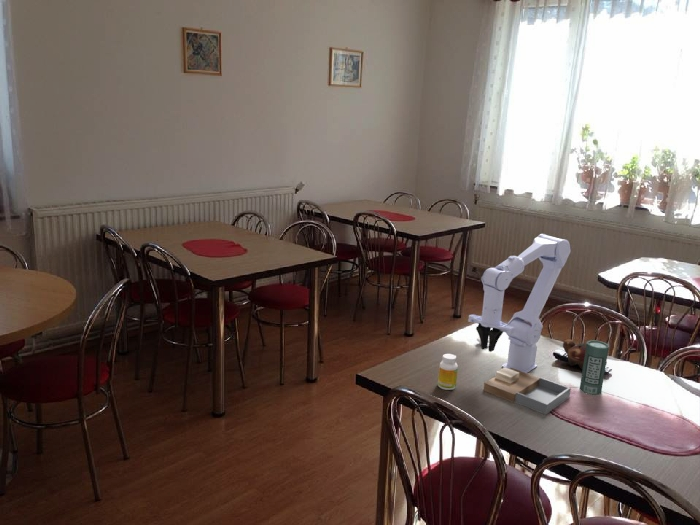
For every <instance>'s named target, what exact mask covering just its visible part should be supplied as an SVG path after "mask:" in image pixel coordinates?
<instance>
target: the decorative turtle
mask: <svg viewBox="0 0 700 525" xmlns="http://www.w3.org/2000/svg"><path fill="white" fill-rule="evenodd" d="M586 345H587V343H586V342H585V343H584V342H581V343H578V344H576V342H575V341H574V340H572V339H565V340H564V341H563V343H562V347H563V350H564V352H565V353H566V354H567V359H568V360H567V361H568V364H569V365H570V366H571V367H574V366H576V365H578V366H579V369H580V370H583V364H584V358H585V352H586ZM607 363H608V362H607V361H606V365H607Z"/></svg>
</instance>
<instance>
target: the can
mask: <svg viewBox="0 0 700 525" xmlns="http://www.w3.org/2000/svg"><path fill="white" fill-rule="evenodd" d="M586 344H587V345H586V352H585V358H584V364H583V370H582V369H581V370H582V372H581V379H580V382H579V383H580V385H579V390H580V392H581V393H583V392H584V393H583V394H586V393H587V395H590V396H598V395H599V396H600V395H601V394H602V390H603V383H604V379H605V373H606V372H605V371H606V367H607V364H606V361H607V360H608V359H607V358H608V355H609V350H610V349H609V348H610V344H608V343H607V342H603V341H600V340H594V339H593V340H587V341H586Z"/></svg>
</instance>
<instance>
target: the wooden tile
mask: <svg viewBox="0 0 700 525" xmlns="http://www.w3.org/2000/svg"><path fill="white" fill-rule="evenodd" d="M495 377H496V378H497V379H500V380H502V381H505V382H508V383H512V382H514V381H515V380H517V379H519V372H517V371H514V370H511V369H508V368H505V367H502V368H501V369H499V370H497V371H495Z"/></svg>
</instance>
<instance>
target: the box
mask: <svg viewBox="0 0 700 525" xmlns="http://www.w3.org/2000/svg"><path fill="white" fill-rule="evenodd" d="M571 390H572V388H571V387H569V386H567V385H564V384H561V383H559V382H555V381H552V380H549V379H547V378H544V377H542V376H540V377H539V385H538V386H537V387H535V388H534V389H532V390H531V391H529V392H528V393H526V394H525V395H523V394H521V393H518V392H516V395H515V402H514V403H516V404H519V405H521V406H524V407H525V408H529V409H531V410H533V411H535V412H538V413H541V414H544V415H548V414H549V413H550V412H552V409H553V410H554V409H556V408H558V406H560V405H561V404H563V403H564V402H566V400H568V399H569V398H570V396H571V395H570V394H571Z"/></svg>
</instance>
